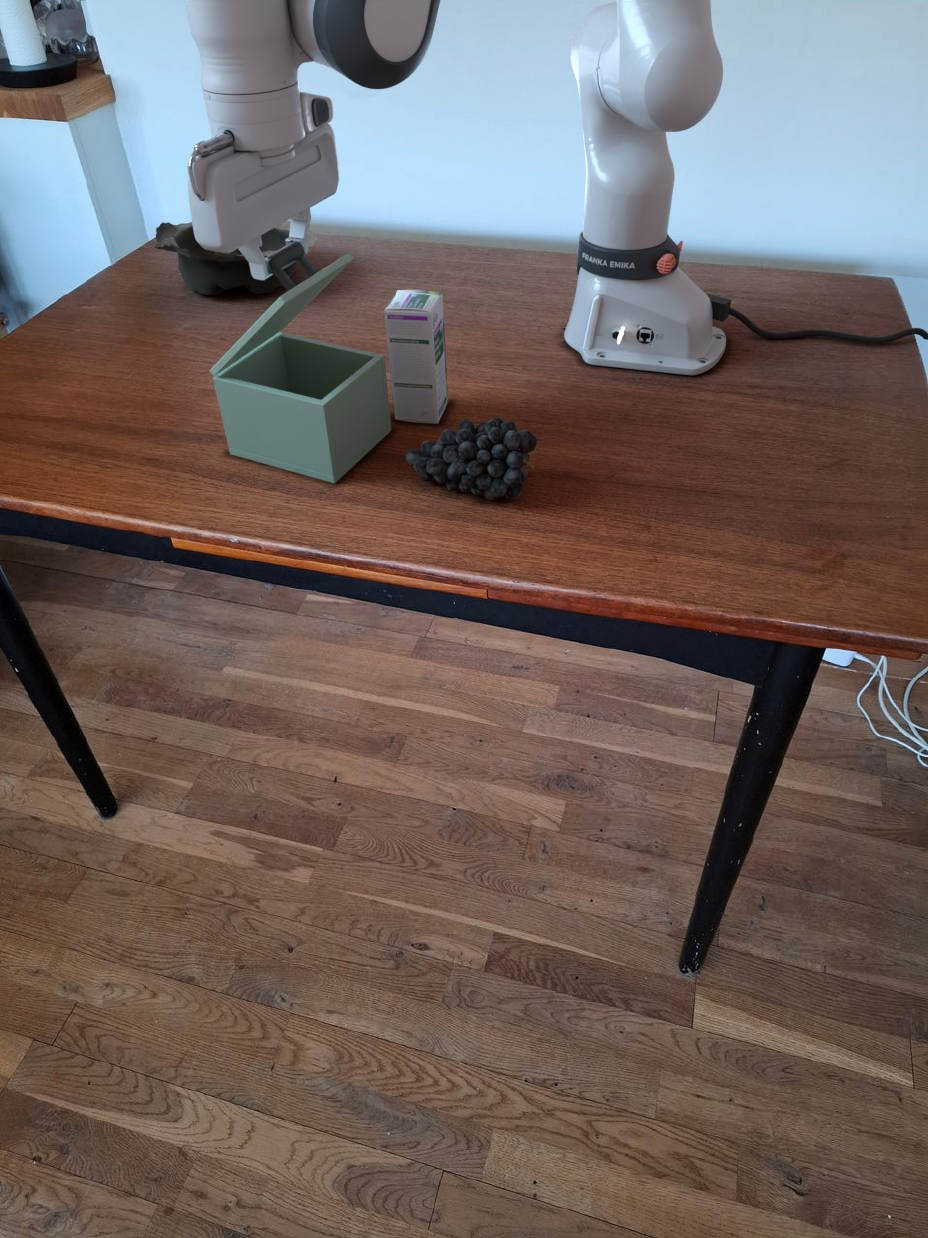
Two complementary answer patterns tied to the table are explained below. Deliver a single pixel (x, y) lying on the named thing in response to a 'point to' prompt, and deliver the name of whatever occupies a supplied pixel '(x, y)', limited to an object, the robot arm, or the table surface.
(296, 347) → the chest
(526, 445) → the fruit
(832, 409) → the table surface
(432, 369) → the syrup box
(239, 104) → the robot arm
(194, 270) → the stone bowl
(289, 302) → the lid
